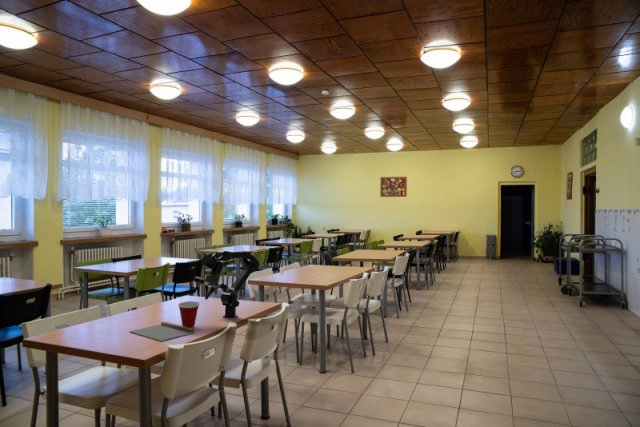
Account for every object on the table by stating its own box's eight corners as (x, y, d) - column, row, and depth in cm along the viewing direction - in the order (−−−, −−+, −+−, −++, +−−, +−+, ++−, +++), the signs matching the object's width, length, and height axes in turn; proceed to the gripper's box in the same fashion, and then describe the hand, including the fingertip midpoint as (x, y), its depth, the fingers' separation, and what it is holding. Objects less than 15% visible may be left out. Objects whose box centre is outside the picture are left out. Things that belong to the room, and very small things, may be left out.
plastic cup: (177, 329, 222) (177, 305, 222) (178, 324, 232) (178, 301, 232) (199, 328, 225) (199, 305, 225) (199, 323, 235) (199, 301, 235)
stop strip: (164, 325, 231) (164, 321, 231) (194, 332, 217) (194, 328, 217) (161, 325, 229) (161, 322, 229) (190, 333, 215) (190, 329, 215)
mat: (159, 325, 230) (159, 324, 230) (192, 333, 214) (192, 332, 214) (129, 332, 216) (129, 331, 216) (161, 341, 201) (161, 340, 201)
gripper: (196, 263, 236) (186, 291, 230) (230, 273, 235) (220, 301, 229) (201, 268, 246) (190, 295, 241) (232, 277, 245) (223, 305, 240)
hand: (205, 299), depth 237 cm, fingers closed
